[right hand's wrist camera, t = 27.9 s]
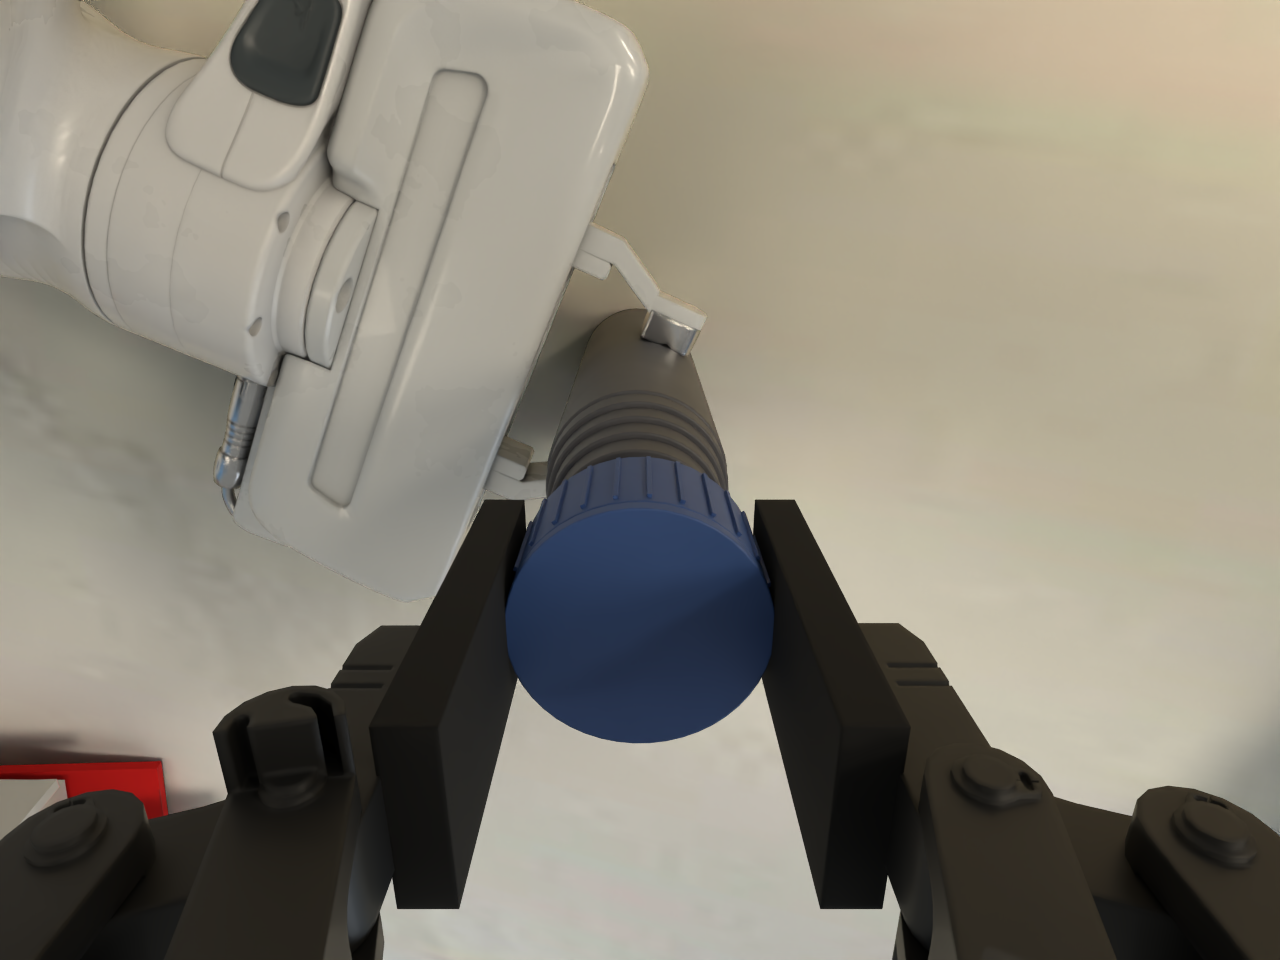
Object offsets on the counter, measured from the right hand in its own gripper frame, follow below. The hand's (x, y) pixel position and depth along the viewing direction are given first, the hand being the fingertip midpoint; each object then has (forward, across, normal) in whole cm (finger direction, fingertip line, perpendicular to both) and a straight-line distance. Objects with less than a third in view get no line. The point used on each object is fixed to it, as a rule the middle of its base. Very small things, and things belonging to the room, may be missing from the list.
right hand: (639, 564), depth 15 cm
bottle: (+19, 0, 0) cm, 19 cm away
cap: (-2, 0, 0) cm, 2 cm away
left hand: (+12, -1, 0) cm, 12 cm away
